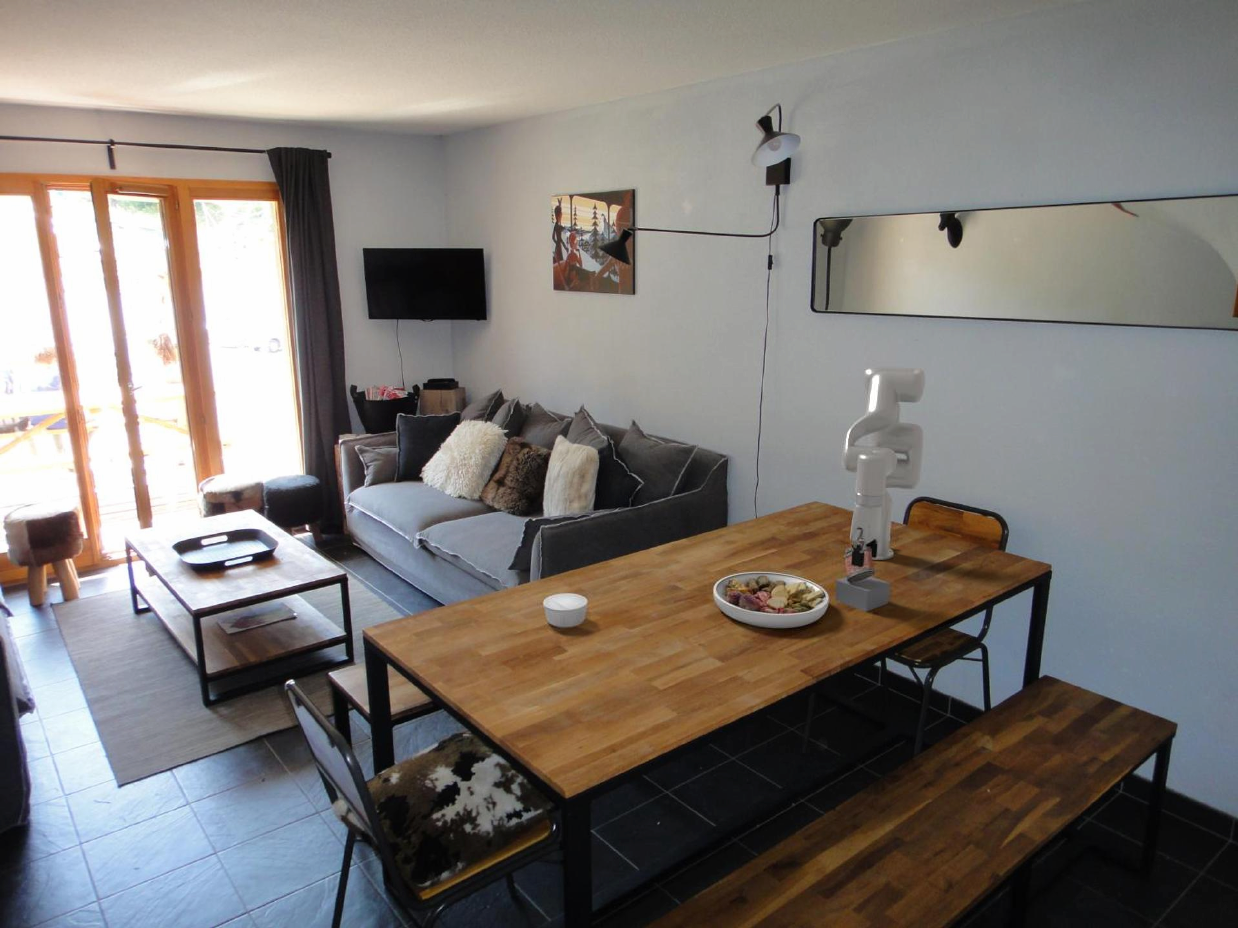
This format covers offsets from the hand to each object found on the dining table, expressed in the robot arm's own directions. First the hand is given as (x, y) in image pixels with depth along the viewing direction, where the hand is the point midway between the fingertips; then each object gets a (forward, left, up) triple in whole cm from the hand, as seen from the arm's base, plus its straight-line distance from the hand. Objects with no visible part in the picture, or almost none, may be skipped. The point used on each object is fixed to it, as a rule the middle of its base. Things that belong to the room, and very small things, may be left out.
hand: (864, 560), depth 226 cm
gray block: (0, 0, -12) cm, 12 cm away
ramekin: (+60, -54, -12) cm, 82 cm away
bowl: (+20, -17, -12) cm, 29 cm away
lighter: (+3, +1, -3) cm, 5 cm away
